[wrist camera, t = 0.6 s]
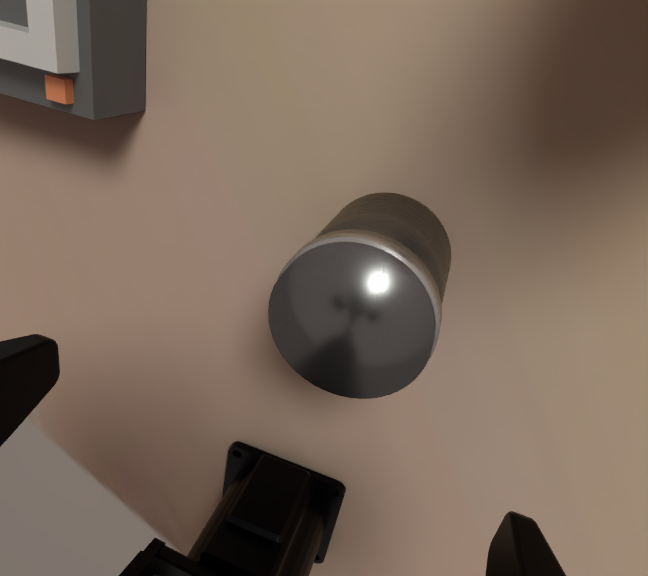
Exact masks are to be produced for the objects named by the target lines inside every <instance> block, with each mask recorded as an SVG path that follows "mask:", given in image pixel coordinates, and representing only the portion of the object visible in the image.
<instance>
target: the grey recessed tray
mask: <svg viewBox="0 0 648 576" xmlns="http://www.w3.org/2000/svg"><path fill="white" fill-rule="evenodd" d="M145 79H146V0H0V94H4V95H7V96H11V97H14V98H18V99H21V100H25V101H28V102H32V103H35V104H39V105H42V106H46V107H49V108H53V109H56V110H60V111H63V112H67V113H70V114H74V115H77V116H81V117H84V118H88V119H91V120H98V119H103V118H108V117H114V116H119V115H124V114H129V113H135V112H140V111H145Z"/></svg>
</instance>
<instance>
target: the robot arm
mask: <svg viewBox="0 0 648 576" xmlns="http://www.w3.org/2000/svg"><path fill="white" fill-rule="evenodd" d="M59 374H60V368H59V354H58V345H57V343H56V341H54V340H53V339H50V338H48V337H45V336H42V335H39V334H33V335H28V336H24V337H19V338H14V339H10V340H5V341H1V342H0V446H1V445H2V444H3V443H4V442H5V441H6V440H7V439H8V438H9V437H10V436H11V434H12V433H13V432H14V431H15V430H16V429H17V428H18V426H19V425H20V424H21V423H22V422H23V421H24V420H25V418H26V417H27V416H28V415H29V414H30V413H31V412H32V410H33V409H34V408H35V407H36V406H37V405H38V404H39V402H40V401H41V400H42V399H43V398H44V397H45V395H46V394H47V393H48V392H49V391H50V390H51V389H52V387H53V386H54V385H55V384H56V382H57V380H58V378H59ZM335 490H336V491H335ZM345 491H346V488H345V486H344V485H343V484H342V483H341V482H339V481H337V480H335V479H332V478H330V477H327V476H325V475H322V474H320V473H317V472H315V471H312V470H310V469H307V468H305V467H302V466H300V465H297V464H294V463H292V462H289V461H287V460H284V459H282V458H279V457H277V456H274V455H272V454H269V453H267V452H264V451H262V450H259V449H257V448H254V447H252V446H249V445H247V444H244V443H242V442H234V443H233V444H232V446H231V447H230V449H229V452H228V459H227V467H226V474H225V482H224V489H223V497H222V499H221V501H220V503H219V504H218V506H217V508H216V509H215V511H214V513H213V514H212V516H211V517H210V519H209V521H208V522H207V524H206V526H205V527H204V529H203V531H202V532H201V534H200V536H199V537H198V539H197V540H196V542H195V544H194V545H193V547H192V549H191V550H190V552H189V554H188V555H187V556H185V555H183V554H181V553H179V552H177V551H175V550H173V549H171V548H169V547H167V546H166V545H165V542H163V541H161V540H159V539H157V538H154V539H153V540H152V542H151V543H150V544H149V545H148V546H147V547H146V549H145V550H144V551H140V552H139V553H138V554H137V555H136V557H135V558H134V559H133V560H132V561H131V562H130V563H129V565H128V566H127V567H126V568H125V569H124V571H123V572H122V573H121V574H120V575H119V576H309V574H310V571H311V568H312V565H313V563H322V562H323V561H324V558H325V555H326V552H327V549H328V545H329V542H330V539H331V536H332V533H333V530H334V526H335V523H336V520H337V517H338V514H339V510H340V507H341V504H342V501H343V498H344V494H345ZM486 576H566V575H565V573H564V571H563V569H562V567H561V566H560V564H559V562H558V560H557V559H556V557H555V555H554V553H553V551H552V550H551V548H550V546H549V544H548V543H547V541H546V539H545V537H544V536H543V534H542V532H541V530H540V528H539V527H538V525H537V523H536V522H535V521H534V520H533V519H532V518H529V517H527V516H524V515H521V514H519V513H516V512H513V511H510V512H508V513H507V514H506V515H505V517H504V519H503V521H502V522H501V524H500V526H499V528H498V530H497V532H496V534H495V536H494V538H493V539H492V542H491V544H490V548H489V552H488V559H487V568H486Z"/></svg>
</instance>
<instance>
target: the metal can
mask: <svg viewBox="0 0 648 576" xmlns="http://www.w3.org/2000/svg"><path fill="white" fill-rule="evenodd" d="M450 263H451V248H450V242H449V239H448V236H447V233H446V231H445V229H444V227H443V225H442V224H441V222H440V221H439V219H438V218H437V217H436V216H435V215H434V213H433V212H432V211H430V210H429V209H428V208H427V207H426V206H424V205H423V204H421V203H420V202H418V201H416V200H414V199H412V198H410V197H407V196H404V195H400V194H395V193H375V194H369V195H366V196H363V197H360V198H358V199H356V200H354V201H353V202H351V203H350V204H348V205H347V206H346V207H345V208H343V209H342V210H341V211H340V212H339V213H338V214H337V216H336V217H335V218H334V219H333V220H332V221H331V222H330V223H329V224H328V225H327V226H326V227H325V228H324V229H323V230H322V231H321V233H320V234H319V235H318V236H317V237H316V238H315V239H313V240H312V241H310V242H309V243H307V244H306V245H305V246H304V247H302V248H301V249H300V250H299V251H298V252H297V253H296V254H295V255H294V256H293V257H292V258H291V259H290V261H289V262H288V263H287V264H286V266H285V267H284V268H283V270H282V272H281V273H280V275H279V277H278V280H277V282H276V284H275V285H274V288H273V290H272V293H271V297H270V301H269V310H268V314H269V324H270V329H271V333H272V336H273V339H274V341H275V343H276V345H277V347H278V349H279V351H280V352H281V354H282V356H283V357H284V358H285V360H286V361H287V362H288V364H289V365H290V366H291V367H292V368H293V369H294V370H295V371H296V372H297V373H298V374H300V375H301V376H302V377H303V378H304V379H306V380H307V381H309V382H310V383H312V384H313V385H315V386H317V387H319V388H321V389H323V390H325V391H328V392H330V393H333V394H336V395H340V396H344V397H349V398H359V399H366V398H377V397H382V396H386V395H390V394H392V393H394V392H397V391H399V390H401V389H402V388H404V387H406V386H407V385H409V384H410V383H411V382H412V381H414V380H415V379H416V378H417V376H418V375H419V374H420V373H421V372H422V370H423V369H424V367H425V366H426V364H427V362H428V360H429V359H430V357H431V355H432V353H433V351H434V349H435V347H436V343H437V340H438V336H439V331H440V326H441V319H442V301H443V296H444V292H445V287H446V283H447V278H448V274H449V269H450Z"/></svg>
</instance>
